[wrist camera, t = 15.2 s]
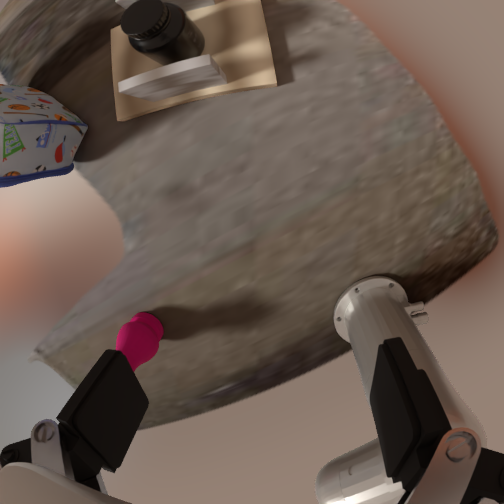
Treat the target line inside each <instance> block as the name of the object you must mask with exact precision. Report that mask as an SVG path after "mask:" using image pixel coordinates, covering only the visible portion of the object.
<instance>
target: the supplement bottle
mask: <svg viewBox="0 0 504 504" xmlns="http://www.w3.org/2000/svg"><path fill="white" fill-rule="evenodd" d="M120 25H121V26H120V27H121V29H122V31H123V32H124V33H125V34H127V35H128V39H129V43H130V45H131V46H132V47H133V48H134V49H135V50H136V51H138V52H139V53H141V54H143V55H145V56H147V57H149V58H150V59H152V60H154V61H156V62H158V63H159V64H161V65H163V66H166V65H169V64H172V63H176V62H179V61H183V60H187V59H190V58H194V57H198V56H200V55H201V54H202V52H203V50H204V46H205V39H204V36H203V34H202V32H201V31H200V29H199V28H198V27H197V26H196V24H195V23H194V22H193V21H192V20H191V18H190V17H189V16H188V15H187V14H186V12H185V11H184V10H183V9H182V8H181V7H180V6H178V5H176V4H173V3H168V2H162V1H161V0H137V1H136V2H134V3H133V4H132V5H130V6H129V7H128V8H127V9H126V11H125V12H124V13H123V15H122V18H121V22H120Z"/></svg>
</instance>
